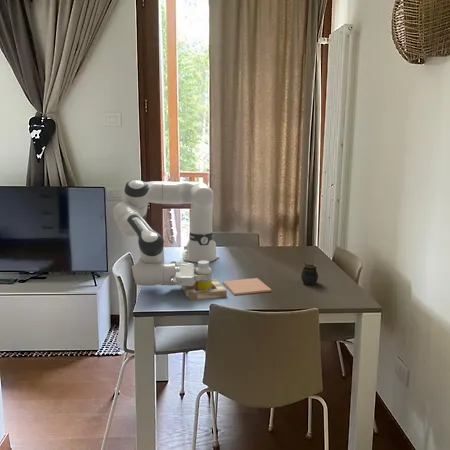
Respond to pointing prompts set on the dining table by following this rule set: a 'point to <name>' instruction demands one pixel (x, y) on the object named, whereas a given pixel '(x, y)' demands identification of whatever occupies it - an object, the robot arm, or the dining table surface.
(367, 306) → the dining table surface
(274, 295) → the dining table surface
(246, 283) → the terracotta tile
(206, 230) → the robot arm
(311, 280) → the mate gourd
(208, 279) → the supplement bottle
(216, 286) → the frame
